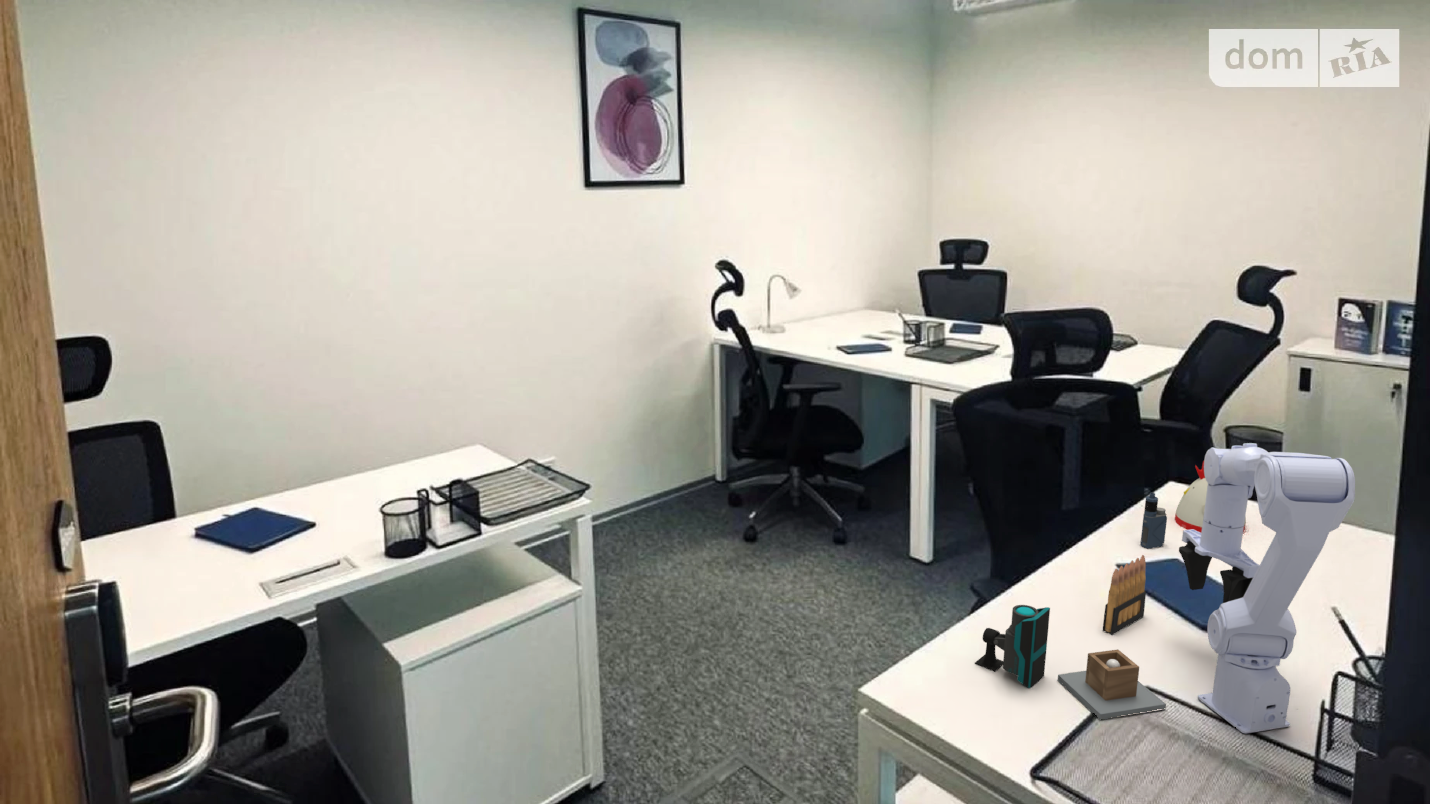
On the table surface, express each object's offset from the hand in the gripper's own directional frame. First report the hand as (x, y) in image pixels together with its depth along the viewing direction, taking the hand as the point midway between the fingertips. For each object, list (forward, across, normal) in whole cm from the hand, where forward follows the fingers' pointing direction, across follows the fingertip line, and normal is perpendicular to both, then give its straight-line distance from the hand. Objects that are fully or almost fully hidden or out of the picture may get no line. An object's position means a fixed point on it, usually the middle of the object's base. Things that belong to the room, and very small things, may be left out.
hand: (1212, 599), depth 147 cm
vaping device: (+11, -41, +21) cm, 47 cm away
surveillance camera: (+11, -4, -34) cm, 35 cm away
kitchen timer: (+11, -48, +41) cm, 64 cm away
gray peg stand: (+10, +6, -22) cm, 25 cm away
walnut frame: (+9, +6, -22) cm, 25 cm away
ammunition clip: (+11, -13, -6) cm, 18 cm away
